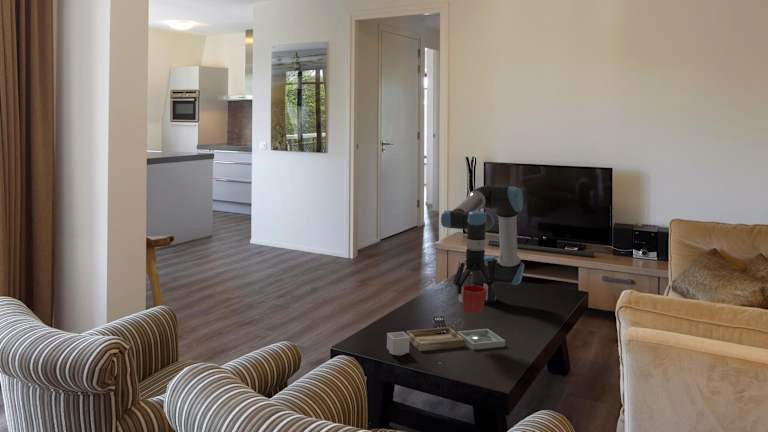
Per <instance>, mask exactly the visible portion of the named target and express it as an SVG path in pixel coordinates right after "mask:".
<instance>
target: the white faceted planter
mask: <svg viewBox="0 0 768 432" xmlns="http://www.w3.org/2000/svg"><path fill="white" fill-rule="evenodd" d="M386 349H387V350H388V353H389V354H390V355H393V356H403V355H406V354H407V353H408V354H409V353H410V337H408V336H407V335H406V332H405V331H396V332H387V333H386Z"/></svg>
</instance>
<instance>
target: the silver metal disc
mask: <svg viewBox="0 0 768 432" xmlns="http://www.w3.org/2000/svg"><path fill="white" fill-rule="evenodd" d="M470 339H471V340H472V341H474V342H487V341H491V337H490V336H489V335H486V334H481V333H476V334H472V335H470Z"/></svg>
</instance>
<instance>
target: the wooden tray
mask: <svg viewBox="0 0 768 432" xmlns="http://www.w3.org/2000/svg"><path fill="white" fill-rule="evenodd" d="M441 331H446V332H447V333H445V334H437V333H438V332H441ZM405 334H406V335H407V336H408V337H410V341H409V343H411V344H412V345H413V346H414V348H416V349H417V350H418V351H420V352H426V351H436V350H437V351H438V350H447V349H455V348H456V349H457V348H463V347H466V346H465V345H466V344H465V339H464V338H462V337H461V336H460V335H459V334H457V331H455V330H453V329H452V328H451V327H450V326H445V327H436V328H435V327H434V328H424V329H423V328H422V329H412V330H406V332H405Z"/></svg>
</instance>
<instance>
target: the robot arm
mask: <svg viewBox="0 0 768 432" xmlns="http://www.w3.org/2000/svg"><path fill="white" fill-rule="evenodd" d="M523 195H524V194H523V191H522V189H520V188H519V187H515V186H511V185H510V186H507V185H506V186H505V185H493V184H488V185H482V186H479V187H477V188H475V189H473V190H471V191H470V192H469V193H468V194H467V196H466V198H465V199H463V201H461V203H459V205H457V206H456V207H455V208H454V209H453V210H443V212H442V213H441V217H440V223H441V226H442V227H443V228H447V229H456V230H457V229H458V230H467V231H466V233H467V235H466V236H467V237H466V249H465V250H466V251H465V252H466V253H465V258H466V259H465V260H464V261H459V262H458V268H457V270H456V274H455V277H454V280H453V282H452V283H453V285H455V286H456V287H457V288H456V292H457V294H458V302H460V303H462V302H463V293H464V287H463V285H464V284H465V281H466V280H467V279H468V277H469V276H470V274H471V282H470V283H471V284H470V285H474V286H481V287H484V288H486V289H487V293H486V297H485V302H484V304H492V303H495V302H496V301H497V293H496V291H495V286H494V283H501V284H508V285H515V286H516V285H517V286H518V285H519V284H520V283H521V282H522V279H523V275H524V269H525V263H524V262H521V257H519V255H518V232H517V231H518V228H517V226H518V225H517V216H519V215H520V212H522V210H523V209H524V208H523V207H524V196H523ZM481 209H487V210H494V211H495V216H497V217H498V233H499V256H498V257H497V259H496V256H495V255H485V253H486V251H485V248H486V233H487V231H489V230H491V228H493V227H494V225H495V218H494V216H493V215H492V214H491V213H489V212H485V211H481Z"/></svg>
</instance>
